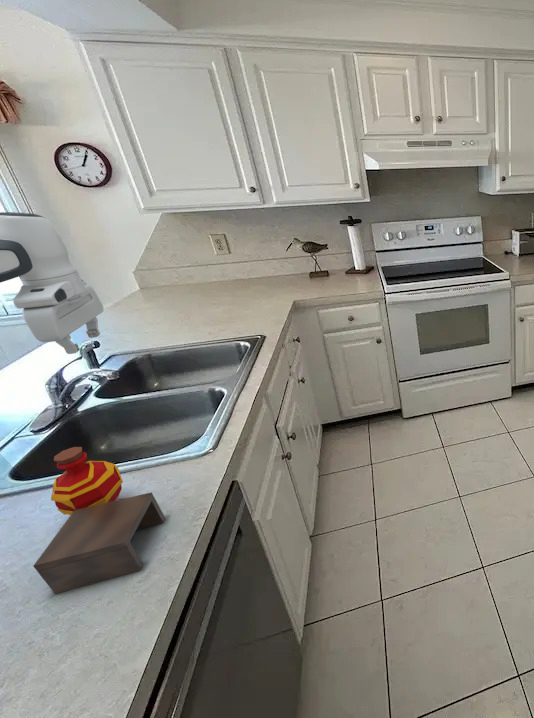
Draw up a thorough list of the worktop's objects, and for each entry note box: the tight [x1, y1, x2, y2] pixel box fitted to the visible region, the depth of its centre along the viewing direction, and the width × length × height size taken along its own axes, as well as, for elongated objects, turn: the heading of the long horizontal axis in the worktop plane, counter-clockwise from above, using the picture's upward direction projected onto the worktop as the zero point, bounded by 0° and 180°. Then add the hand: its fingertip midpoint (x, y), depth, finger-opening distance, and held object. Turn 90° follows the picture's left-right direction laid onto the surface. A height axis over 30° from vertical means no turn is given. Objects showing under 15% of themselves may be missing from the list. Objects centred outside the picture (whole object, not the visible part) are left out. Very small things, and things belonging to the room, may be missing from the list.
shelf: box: [33, 492, 166, 595], centre depth 74 cm, size 12×12×7 cm
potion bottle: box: [50, 446, 124, 516], centre depth 81 cm, size 10×10×15 cm
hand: (85, 344), depth 97 cm, fingers open, 8 cm apart
